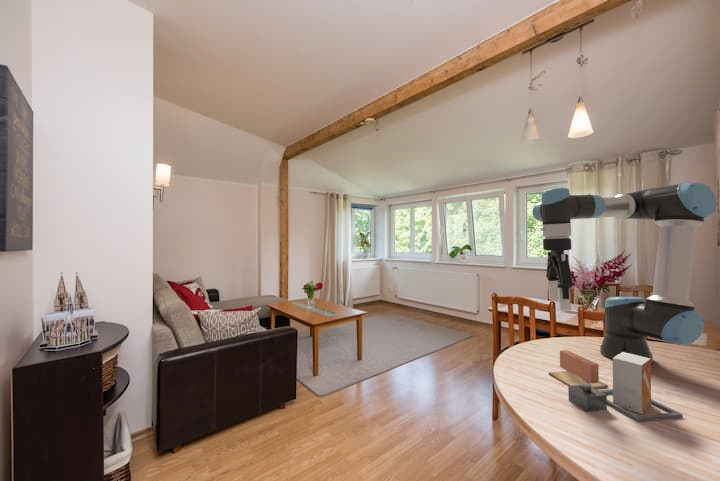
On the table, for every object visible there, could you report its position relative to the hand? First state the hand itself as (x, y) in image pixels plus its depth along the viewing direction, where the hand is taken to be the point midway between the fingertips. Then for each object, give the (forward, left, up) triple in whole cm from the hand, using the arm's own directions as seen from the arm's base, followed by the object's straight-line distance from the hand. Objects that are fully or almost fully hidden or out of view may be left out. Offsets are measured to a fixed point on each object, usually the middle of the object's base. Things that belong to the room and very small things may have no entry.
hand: (559, 304), depth 95 cm
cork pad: (-7, -1, -25) cm, 26 cm away
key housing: (+2, +12, -25) cm, 28 cm away
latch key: (+2, +9, -21) cm, 23 cm away
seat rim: (-10, +14, -25) cm, 30 cm away
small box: (-10, +14, -26) cm, 31 cm away
